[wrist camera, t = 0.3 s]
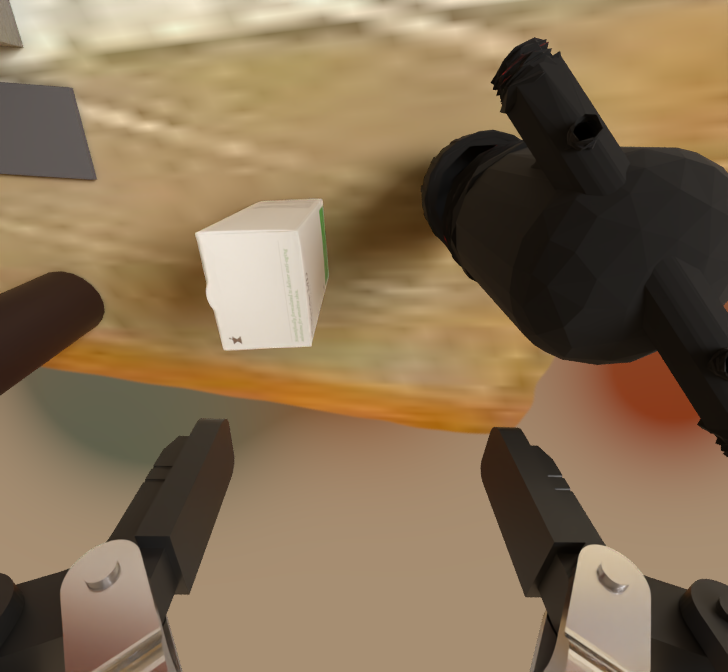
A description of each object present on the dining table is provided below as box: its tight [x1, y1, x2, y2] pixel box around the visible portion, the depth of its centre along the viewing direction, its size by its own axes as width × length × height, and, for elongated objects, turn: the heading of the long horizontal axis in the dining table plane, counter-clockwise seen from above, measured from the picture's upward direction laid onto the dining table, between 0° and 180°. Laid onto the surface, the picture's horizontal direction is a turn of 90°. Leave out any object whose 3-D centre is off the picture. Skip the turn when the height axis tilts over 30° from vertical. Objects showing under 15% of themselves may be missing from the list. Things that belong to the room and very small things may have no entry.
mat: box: [0, 82, 97, 180], centre depth 31 cm, size 7×10×1 cm
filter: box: [421, 37, 728, 457], centre depth 21 cm, size 14×9×30 cm
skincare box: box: [195, 199, 329, 351], centre depth 30 cm, size 8×7×16 cm
